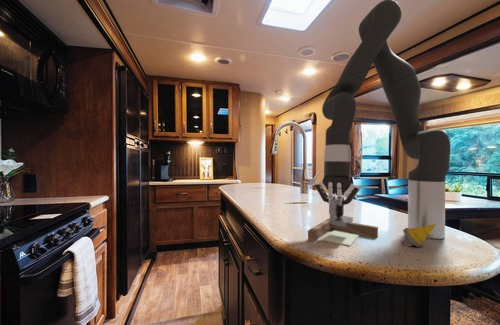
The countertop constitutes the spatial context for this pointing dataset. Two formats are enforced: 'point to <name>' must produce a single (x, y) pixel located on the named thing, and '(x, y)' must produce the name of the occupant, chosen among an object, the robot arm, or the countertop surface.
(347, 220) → the angle bracket
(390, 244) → the countertop surface
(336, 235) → the mat
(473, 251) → the countertop surface
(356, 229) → the corner walls
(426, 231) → the yellow spiral cone
